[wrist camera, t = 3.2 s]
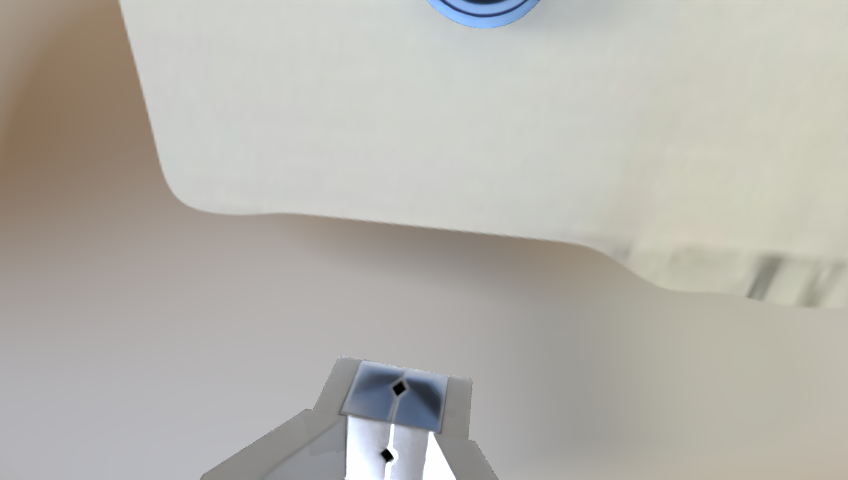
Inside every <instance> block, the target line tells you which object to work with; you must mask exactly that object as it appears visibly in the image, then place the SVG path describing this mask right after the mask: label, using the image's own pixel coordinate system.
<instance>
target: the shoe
mask: <svg viewBox="0 0 848 480" xmlns="http://www.w3.org/2000/svg"><path fill="white" fill-rule="evenodd" d="M427 1H428V2H429V3H430V4H431V5H432V6H433V7H434V8H435V9H436V10H437V11H439V12H440V13H441V14H443V15H444V16H446V17H447V18H449V19H451V20H453V21H455V22H457V23H459V24H462V25H465V26H469V27H474V28H494V27H499V26H503V25H506V24H509V23H511V22H514V21H516V20H518V19H519V18H521V17H522V16H524V15H525V14H526V13H527V12H529V11H530V10H531V9H532V8H533V7H534V6H535V5H536V4H537V3H538V2H539V1H540V0H427Z"/></svg>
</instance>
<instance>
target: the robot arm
mask: <svg viewBox="0 0 848 480" xmlns="http://www.w3.org/2000/svg"><path fill="white" fill-rule="evenodd" d="M471 395H472V380H471V378H464V377H458V376H452V375H449V378H448V375H445V374H439V373H433V372H427V371H421V370H415V369H410V368H403V367H398V366H393V365H388V364H383V363H378V362H374V361H369V360H361V359H356V358H351V357H347V356H342V355H341V356H340V357H339V358H338V359H337V361H336V363H335V365H334V367H333V369H332V371H331V373H330V375H329V377H328V379H327V381H326V383H325V386H324V388H323V390H322V392H321V394H320V396H319V398H318V400H317V402H316V404H315V406H314V408H313V410H310V409H305V410H303V411H302V412H300V413H299V414H297V415H296V416H294V417H293V418H291V419H289V420H288V421H286V422H285V423H283V424H282V425H280V426H278V427H277V428H275V429H274V430H273V431H271V432H269V433H267V434H266V435H264V436H263V437H261V438H260V439H258V440H257V441H255V442H253V443H252V444H250V445H249V446H247V447H245V448H244V449H242V450H241V451H239V452H238V453H236V454H234V455H233V456H231V457H230V458H228V459H227V460H225V461H224V462H222V463H221V464H219V465H218V466H216V467H214V468H213V469H211V470H209V471H208V472H206V473H205V474H203V476H202V477H201V478H200V480H345V478H346V479H352V480H498V478H497V476H496V475H495V473H494V471H493V470H492V468H491V466H490V465H489V463H488V461H487V460H486V458H485V456H484V455H483V453H482V451H481V450H480V448H479V447H478V445H477V443H476V442H475V441H472V440H468V436H469V422H470V409H471Z"/></svg>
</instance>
